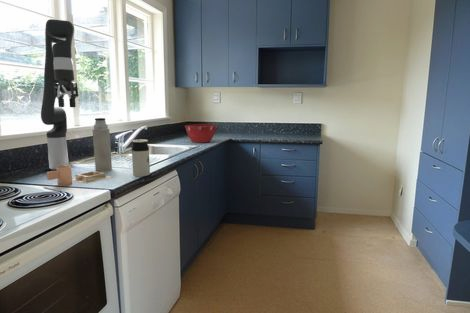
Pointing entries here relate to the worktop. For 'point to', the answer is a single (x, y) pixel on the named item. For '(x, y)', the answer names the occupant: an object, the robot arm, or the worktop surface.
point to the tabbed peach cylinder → (61, 174)
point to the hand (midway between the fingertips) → (67, 107)
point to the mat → (51, 189)
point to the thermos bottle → (102, 145)
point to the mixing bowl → (200, 132)
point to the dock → (90, 177)
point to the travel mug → (140, 158)
